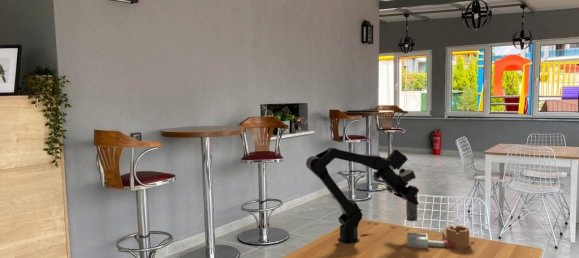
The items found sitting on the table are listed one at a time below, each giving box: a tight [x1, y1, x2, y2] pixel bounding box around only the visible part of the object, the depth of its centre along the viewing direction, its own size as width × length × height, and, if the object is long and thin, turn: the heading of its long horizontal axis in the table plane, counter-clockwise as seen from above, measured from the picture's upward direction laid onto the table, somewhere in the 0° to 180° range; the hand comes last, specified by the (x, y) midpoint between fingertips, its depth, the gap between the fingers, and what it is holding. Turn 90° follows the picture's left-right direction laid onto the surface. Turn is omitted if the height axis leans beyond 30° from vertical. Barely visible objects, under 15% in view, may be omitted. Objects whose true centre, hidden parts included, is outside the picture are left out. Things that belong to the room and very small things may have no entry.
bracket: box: [441, 224, 470, 250], centre depth 181 cm, size 18×8×7 cm, turn 170°
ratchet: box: [406, 232, 456, 249], centre depth 176 cm, size 8×18×3 cm, turn 76°
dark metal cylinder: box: [405, 193, 419, 222], centre depth 189 cm, size 4×4×11 cm
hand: (414, 202), depth 189 cm, fingers closed on dark metal cylinder, 4 cm apart
